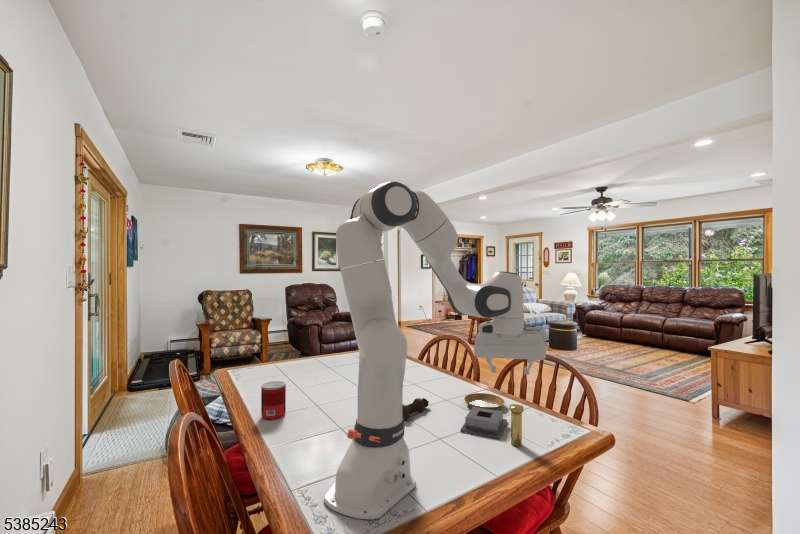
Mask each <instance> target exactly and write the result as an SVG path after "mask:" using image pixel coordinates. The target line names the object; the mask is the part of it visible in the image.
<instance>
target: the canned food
mask: <svg viewBox="0 0 800 534" xmlns="http://www.w3.org/2000/svg"><path fill="white" fill-rule="evenodd" d="M260 389H261V391H260V392H261V393H260V395H261V396H260V397H261V398H260V399H261V401H260V402H261V403H260V404H261V405H260V406H261V407H260V408H261V409H260V410H261V411H260V413H261V414H260V415H261V418H262V419H263V420H264V421H276V420H280V419H281V418H283V417H285V415H286V408H287V407H286V402H287V401H286V399H287V397H286V394H287V393H286V392H287V390H286V389H287V385H286V382H284V381H280V380H273V381H269V382H268V381H267V382H264V383H263V384H262V385H261V388H260Z"/></svg>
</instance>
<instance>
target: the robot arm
mask: <svg viewBox="0 0 800 534" xmlns="http://www.w3.org/2000/svg"><path fill="white" fill-rule="evenodd" d="M397 227H401V228H402V229H403V230H404V231H405V232H407V234H408V235H409V236H410V238H411V239H412V242H414V244H415V245H416V247H417V248H419V250H420V251H421V253H422V254H423V256H424V257H425V259H426V261H427V262H428V265H429V266H430V268H431V269H432V271H433V273H434V275H435V276H436V277H437V279H438V281H439V283H441V285H442V286H443V289H444V290H445V292H446V295H447V299H448V302H449V306H450V307H451V308H452V310H453V311H454V312H455V313H456V314H458V315H460V316H471V317H476V318H482V319H490V318H492V320H488V321H484V322H482V323H479V325H478V326H477V330H478V333H477V334H476V337H475V340H474V348H473V350H474V353H473V354H474V355H475V356H476V357H477V358H486V362H487V363H488V366H489V367H490V373H492V374H493V373H496V372H497V366H496V365H494V364H493V363H492V360H493V359H508V360H509V359H511V360H512V359H514V360H515V359H516V360H527V363H528V364H527V366H524V367H523V375H526V376H528V375H530V370H531V368H532V366H533V365H534V360H535V361H544V360H545V359H546V358H547V351H546V345H545V343H546V342H547V339H548V337H547V331H546V330H545V329H543V328H541V327H540V326H536V327H535V326H534V327H533V326H525V314H524V311H523V306H524V301H525V300H524V299H525V298H524V285H523V281H522V277H521V276H520V275H519V274H518V273H517V272H511V271H503V270H502V271H496V272H494V274H493V275H492V276H491V277H490V278H489V279H487V280H485V281H484V282H481V283H471V282H469V281H467V280H466V279H464V278H463V276H462V275H461V273H460V272H459V270H458V268H457V267H456V266H455V264H454V262H453V261H452V256H451V255H452V254H453V252H455V250H456V248H457V246H458V242H459V241H458V240H459V236H458V233H457V230H456V229H455V228H456V227H455V226H454V224H453V223H452V222H451V220H450V219H449V218H448V216H447V215H446V214H445V212H444V211H443V210H442V209H441V207H440V206H439V205H438V203H436V202H435V200H434V199H432V197H431V196H429V195H428V194H427V193H426V192H424V191H421V190H416V191H415V190H414V191H413V190H412V189H410V188H409V187H408V186H407V185H405V184H404V183H401V182H398V181H387V182H384V183H380V184H379V185H378V186H376V187H375V188H372V189H368V191H366V192H365V193H364V194H362V196H361V197H359V198H358V199H357V200H356V201H355V203H354V204H353V207H352V209H351V214H350V218H349V219H348V220H346V221H344V222H342V223H341V224H339V226H338V227H337V230H336V232H335V242H336V243H335V244H336V255H337V261H338V265H339V270H340V275H341V279H342V282H343V288H344V292H345V296H346V300H347V305H348V309H349V312H350V318H351V322H352V326H353V331H354V336H355V340H356V344H357V347H358V355H359V356H358V358H359V360H358V380H357V418H356V420H355V424H354V428H353V429H352V428H350V429H348V430H347V433H346V434H347V435H346V436H347V439H352V441H351V443H350V445H349V447H348V449H347V451H346V452H345V455H344V456H343V458H342V460H341V461H340V464H339V466H338V467H337V470H336V474H335V481H334V482H333V483H332V485H331V487H330V488H329V489H328V491H327V492H326V493H325V495H324V497H323V502H324V504H325V505H326V507H328V508H329V509H331V510H333V511H334V512H337V513H339V514H342V515H345V516H347V517H351V518H353V519H358V520H359V519H360V520H375V519H376V520H378V519H379V518H381V517H382V516H383V515H384V514H386V513H387V512H388V511H389V510H391V509H392V507H393V506H396V504H397V503H398V502H399V501H401V500H402V499H404V497H405V496H406V495H408V493H410V492H411V491H412V490H414V489H415V488H416V486H417V484H416V479H415V478H414V477H413V476H412V473H411V472H412V471H411V456H410V448H409V447H408V445H407V442H406V440H405V438H404V437H405V429H406V425H405V421H404V418H403V417H402V404H403V395H404V394H403V389H404V379H405V373H406V364H407V363H406V362H407V355H408V340H407V337H406V335H405V333H404V331H403V330H402V329H401V328H400V327H399V325H398V323H397V320H396V315H395V310H394V303H393V293H392V292H393V291H392V286H391V282H390V279H389V272H388V269H387V264H386V261H385V257H384V251H383V249H382V235H383V234H384V232H389V231H391V230H393V229H395V228H397ZM492 358H493V359H492Z"/></svg>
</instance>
